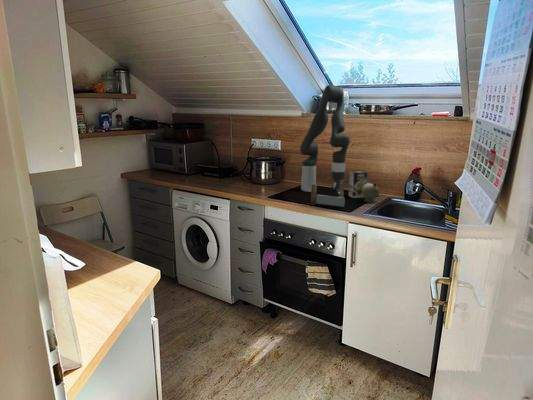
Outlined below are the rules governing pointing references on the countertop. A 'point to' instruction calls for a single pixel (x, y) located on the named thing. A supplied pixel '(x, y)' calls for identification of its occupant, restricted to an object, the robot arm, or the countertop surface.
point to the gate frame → (314, 190)
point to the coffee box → (357, 183)
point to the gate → (330, 200)
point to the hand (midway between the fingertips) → (336, 199)
